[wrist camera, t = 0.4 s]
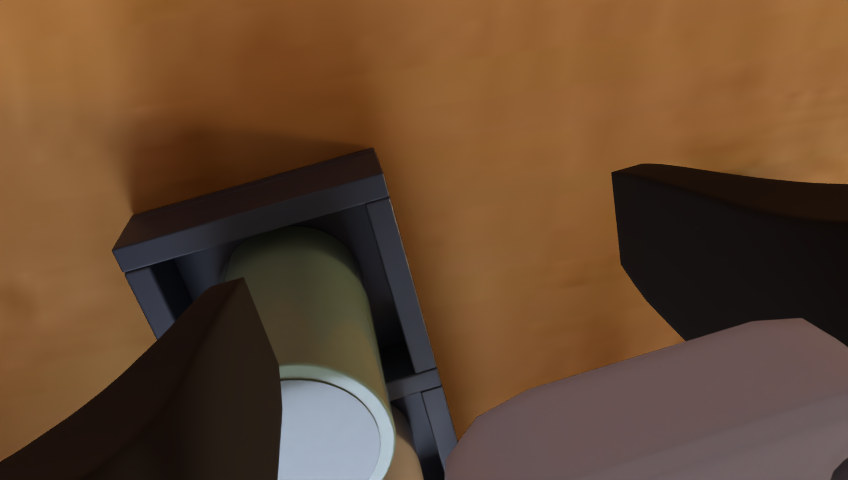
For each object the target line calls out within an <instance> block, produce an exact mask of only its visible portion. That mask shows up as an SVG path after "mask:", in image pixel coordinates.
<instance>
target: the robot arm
mask: <svg viewBox="0 0 848 480" xmlns="http://www.w3.org/2000/svg"><path fill="white" fill-rule="evenodd" d="M611 174H612V184H613V193H614V203H615V213H616V222H617V232H618V241H619V251H620V260H621V265H622V267H623V268H624V270H625V271H626V273H627V274H628V276H629V277H630V279H631V280H632V282H633V283H634V285H635V286H636V287H637V289H638V290H639V291H640V293H641V294H642V295H643V297H644V298H645V299H646V301H647V302H648V303H649V304H650V305H651V306H652V307H653V308H654V309H655V310H656V311H657V312H658V313H659V314H660V315H661V316H662V317H663V318H664V319H665V321H666V322H667V323H668V324H669V325H670V326H671V327H672V328H673V329H674V330H675V331H676V332H677V333H678V334H679V335H680V336H681V337H682V338H683V339H684V340H685V341H686V342H682V343H679V344H676V345H673V346H669V347H666V348H663V349H659V350H656V351H653V352H650V353H646V354H643V355H640V356H636V357H633V358H630V359H627V360H623V361H620V362H617V363H613V364H610V365H607V366H604V367H600V368H597V369H594V370H590V371H587V372H584V373H581V374H577V375H574V376H571V377H567V378H564V379H561V380H558V381H554V382H551V383H548V384H545V385H541V386H538V387H535V388H531V389H528V390H526V391H524V392H522V393H520V394H518V395H516V396H515V397H513V398H511V399H509V400H507V401H506V402H504V403H502V404H500V405H498V406H496V407H495V408H493V409H491V410H489V411H487V412H485V413H484V414H482V415H480V416H478V417H476V419H475V420H474V421H473V423H472V424H471V425H470V427H469V428H468V430H467V431H466V432H465V434H464V435H463V436H462V438H461V439H460V440H459V442H458V443H457V445H456V446H455V447H454V449H453V450H452V451H451V453H450V454H449V455H448V457H447V458H446V465H445V480H848V184H826V183H807V182H793V181H784V180H774V179H764V178H756V177H748V176H741V175H733V174H727V173H720V172H713V171H707V170H700V169H693V168H687V167H680V166H672V165H663V164H639V165H636V166H632V167H629V168H625V169H621V170H618V171H614V172H611ZM282 409H283V408H282V394H281V382H280V371H279V364H278V361H277V359H276V356H275V354H274V351H273V349H272V346H271V344H270V341H269V339H268V336H267V334H266V331H265V329H264V326H263V324H262V321H261V319H260V316H259V314H258V311H257V309H256V306H255V304H254V301H253V299H252V296H251V294H250V291H249V289H248V286H247V284H246V281H245V279H244V277H241V278H238V279H234V280H231V281H227V282H224V283H220V284H217V285H213V286H211V287H209V288H208V289H207V290H206V291H204V292H203V293H202V294H201V295H200V296H199V297H198V298H197V299H196V300H195V301H194V302H193V303H192V304H191V305H190V306H189V307H188V309H187V310H186V311H185V312H184V313H183V314H182V315H181V316H180V317H179V318H178V319H177V320H176V321H175V322H174V323H173V324H172V325H171V326H170V328H169V329H168V330H167V331H166V332H165V333H164V334H163V335H162V336H161V337H160V338H159V339H158V340H157V341H156V342H155V343H154V344H153V345H152V346H151V347H150V348H149V349H148V350H147V351H146V352H145V353H144V354H143V355H142V356H140V357H139V358H138V359H137V360H136V361H135V362H134V363H133V364H132V365H131V366H130V367H129V368H128V369H127V370H126V371H125V372H124V373H123V374H122V375H120V376H119V377H118V378H117V379H116V380H115V381H114V382H112V383H111V384H110V385H109V386H108V387H107V388H105V389H104V390H103V391H102V392H101V393H99V394H98V395H97V396H95V397H94V398H93V399H92V400H90V401H89V402H88V403H87V404H85V405H84V406H83V407H81V408H80V409H79V410H78V411H76V412H75V413H73V414H72V415H71V416H69V417H68V418H67V419H65V420H64V421H62V422H61V423H59V424H58V425H56V426H55V427H53V428H52V429H50V430H49V431H47V432H46V433H44V434H43V435H41V436H40V437H38V438H37V439H36V440H34V441H33V442H31V443H30V444H28V445H27V446H25V447H24V448H22V449H21V450H19V451H17V452H16V453H14V454H13V455H11V456H9V457H8V458H6V459H4V460H3V461H1V462H0V480H278V468H279V454H280V441H281V426H282Z"/></svg>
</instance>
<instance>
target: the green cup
mask: <svg viewBox="0 0 848 480" xmlns="http://www.w3.org/2000/svg"><path fill="white" fill-rule="evenodd" d="M241 277H244V279H245V281H246V284H247V286H248V289H249V291H250V294H251V296H252V299H253V301H254V304H255V306H256V309H257V311H258V314H259V316H260V319H261V321H262V324H263V326H264V329H265V331H266V334H267V336H268V339H269V341H270V344H271V346H272V349H273V351H274V354H275V356H276V359H277V361H278V364H279V371H280V382H281V394H282V408H283V409H282V426H281V441H280V454H279V468H278V480H383V479H384V477H385V476H386V474H387V472H388V470H389V468H390V465H391V463H392V461H393V457H394V453H395V449H396V428H395V423H394V418H393V414H392V409H391V404H390V399H389V395H388V390H387V385H386V380H385V376H384V371H383V366H382V361H381V357H380V352H379V347H378V342H377V338H376V333H375V328H374V323H373V318H372V314H371V309H370V304H369V299H368V295H367V290H366V285H365V280H364V276H363V272H362V269H361V267H360V264H359V263H358V261H357V259H356V257H355V256H354V255H353V253H352V252H351V251H350V250H349V249H348V248H347V247H346V246H345V245H344V244H343V243H342V242H340V241H339V240H338V239H336V238H335V237H333V236H331V235H329V234H327V233H325V232H322V231H320V230H317V229H313V228H309V227H302V226H284V227H281V228H277V229H274V230H271V231H267V232H264V233H260V234H257V235H253V236H251V237H250V238H248V239H247V240H245V241H244V242H242V243H241V244H240V245H239V246H238V247H237V248H236V249H235V250H234V251H233V252H232V253H231V254H230V255H229V257H228V258H227V260H226V262H225V263H224V265H223V268H222V270H221V272H220V276H219V279H218V284H220V283H224V282H227V281H231V280H234V279H238V278H241Z"/></svg>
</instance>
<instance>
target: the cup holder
mask: <svg viewBox="0 0 848 480" xmlns="http://www.w3.org/2000/svg"><path fill="white" fill-rule="evenodd" d="M284 226H302V227H309V228H313V229H317V230H320V231H322V232H325V233H327V234H329V235H331V236H333V237H335V238H336V239H338V240H339V241H340V242H342V243H343V244H344V245H345V246H346V247H347V248H348V249H349V250H350V251H351V252H352V253H353V255H354V256H355V257H356V259H357V261H358V263H359V264H360V267H361V269H362V272H363V276H364V280H365V285H366V290H367V295H368V299H369V304H370V309H371V314H372V318H373V323H374V328H375V333H376V338H377V342H378V347H379V352H380V357H381V361H382V366H383V371H384V376H385V380H386V385H387V390H388V395H389V399H390V404H392V405H393V406H395V407H396V408H397V409H399V410H400V411H401V412H402V413H403V414H404V416H405V417H406V418H407V420H408V421H409V423H410V426H411V428H412V432H413V436H414V440H415V444H416V448H417V452H418V456H419V460H420V464H421V469H422V473H423V477H424V480H445V465H446V458H447V457H448V455H449V454H450V453H451V451H452V450H453V449H454V447H455V446H456V445H457V443H458V441H457V437H456V433H455V430H454V426H453V422H452V419H451V415H450V412H449V408H448V404H447V401H446V397H445V393H444V390H443V386H442V383H441V379H440V375H439V372H438V368H437V365H436V361H435V357H434V354H433V350H432V347H431V343H430V339H429V336H428V332H427V328H426V325H425V321H424V318H423V314H422V310H421V307H420V303H419V300H418V296H417V292H416V289H415V285H414V281H413V278H412V274H411V271H410V267H409V263H408V260H407V256H406V253H405V249H404V245H403V242H402V238H401V234H400V231H399V227H398V224H397V220H396V216H395V213H394V209H393V205H392V202H391V198H390V196H389V191H388V187H387V184H386V180H385V177H384V173H383V171H382V168H381V165H380V163H379V160H378V158H377V155H376V153H375V150H374V148H369V149H366V150H362V151H359V152H355V153H352V154H348V155H345V156H341V157H337V158H334V159H330V160H327V161H323V162H320V163H316V164H313V165H309V166H306V167H302V168H298V169H295V170H291V171H288V172H284V173H281V174H277V175H274V176H270V177H267V178H263V179H260V180H256V181H252V182H249V183H245V184H242V185H238V186H235V187H231V188H228V189H224V190H221V191H217V192H213V193H210V194H206V195H203V196H199V197H196V198H192V199H189V200H185V201H182V202H178V203H174V204H171V205H167V206H164V207H160V208H157V209H153V210H150V211H146V212H143V213H139V214H135V215H133V216H132V217H131V218H130V220H129V222H128V223H127V225H126V227H125V228H124V230H123V232H122V234H121V235H120V237H119V239H118V240H117V242H116V244H115V245H114V247H113V249H112V252H113V254H114V256H115V258H116V260H117V262H118V264H119V266H120V268H121V270H122V272H125V277H126V279H127V281H128V283H129V285H130V287H131V289H132V291H133V293H134V295H135V297H136V299H137V301H138V303H139V305H140V307H141V309H142V311H143V313H144V315H145V317H146V319H147V321H148V323H149V325H150V327H151V329H152V331H153V333H154V335H155V337H156V339H157V340H158V339H159V338H160V337H161V336H162V335H163V334H164V333H165V332H166V331H167V330H168V329H169V328H170V326H171V325H172V324H173V323H174V322H175V321H176V320H177V319H178V318H179V317H180V316H181V315H182V314H183V313H184V312H185V311H186V310H187V309H188V307H189V306H190V305H191V304H192V303H193V302H194V301H195V300H196V299H197V298H198V297H199V296H200V295H201V294H202V293H203V292H204V291H206V290H207V289H208V288H209V287H211V286H213V285H217V284H218V279H219V276H220V272H221V270H222V268H223V265H224V263H225V262H226V260H227V258H228V257H229V255H230V254H231V253H232V252H233V251H234V250H235V249H236V248H237V247H238V246H239V245H240V244H241V243H242V242H244V241H245V240H247V239H248V238H250V237H251V236H253V235H257V234H260V233H264V232H267V231H271V230H274V229H277V228H281V227H284Z"/></svg>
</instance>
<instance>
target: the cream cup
mask: <svg viewBox="0 0 848 480" xmlns="http://www.w3.org/2000/svg"><path fill="white" fill-rule="evenodd" d="M391 409H392V414H393V418H394V423H395V428H396V449H395V453H394V457H393V461H392V463H391V465H390V468H389V470H388V472H387V474H386V476H385V477H384V479H383V480H424V477H423V473H422V469H421V464H420V460H419V456H418V452H417V448H416V444H415V440H414V436H413V432H412V428H411V426H410V423H409V421H408V420H407V418H406V417H405V416H404V414H403V413H402V412H401V411H400V410H399V409H397V408H396V407H395V406H393V405H392V404H391Z"/></svg>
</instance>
